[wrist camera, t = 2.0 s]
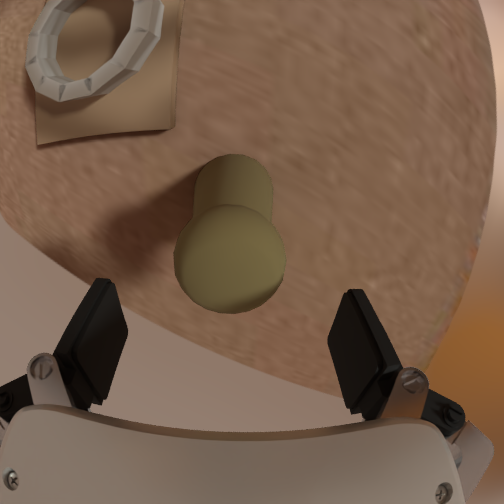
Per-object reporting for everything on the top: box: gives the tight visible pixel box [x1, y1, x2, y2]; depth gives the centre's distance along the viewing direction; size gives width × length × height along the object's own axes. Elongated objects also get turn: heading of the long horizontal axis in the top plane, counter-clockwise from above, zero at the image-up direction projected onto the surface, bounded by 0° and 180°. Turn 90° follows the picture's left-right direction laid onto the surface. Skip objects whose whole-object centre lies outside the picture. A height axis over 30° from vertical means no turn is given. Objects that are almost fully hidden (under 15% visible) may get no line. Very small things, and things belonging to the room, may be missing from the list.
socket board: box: [25, 0, 185, 145], centre depth 11 cm, size 16×12×4 cm
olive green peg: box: [173, 154, 286, 314], centre depth 16 cm, size 6×6×11 cm
